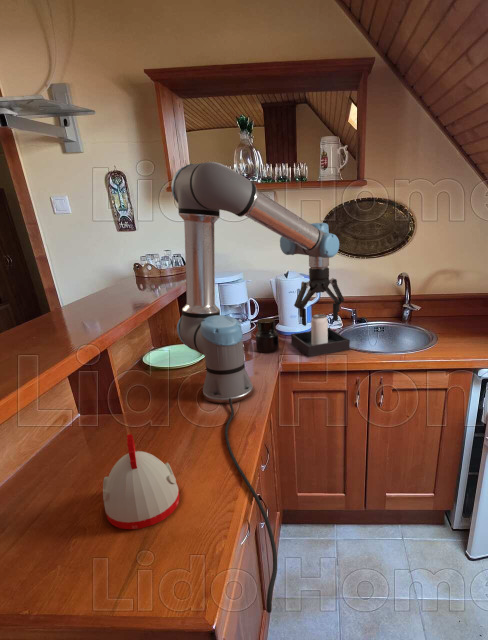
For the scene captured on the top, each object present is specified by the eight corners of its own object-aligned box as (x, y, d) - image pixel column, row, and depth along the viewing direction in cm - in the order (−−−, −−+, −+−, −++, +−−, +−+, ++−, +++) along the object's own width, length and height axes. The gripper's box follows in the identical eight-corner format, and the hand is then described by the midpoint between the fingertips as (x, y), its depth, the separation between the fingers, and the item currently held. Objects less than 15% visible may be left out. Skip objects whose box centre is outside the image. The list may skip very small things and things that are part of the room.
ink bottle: (283, 347, 169) (282, 318, 164) (272, 354, 162) (271, 324, 157) (263, 344, 173) (261, 316, 168) (251, 351, 166) (249, 322, 161)
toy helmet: (175, 476, 92) (164, 416, 86) (184, 516, 81) (172, 450, 74) (107, 493, 88) (90, 430, 81) (105, 538, 76) (86, 469, 70)
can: (315, 341, 173) (314, 313, 168) (329, 343, 170) (329, 314, 165) (309, 346, 167) (308, 317, 162) (324, 348, 165) (324, 318, 160)
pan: (349, 349, 165) (349, 339, 163) (308, 356, 159) (308, 346, 157) (329, 337, 180) (329, 328, 178) (291, 343, 173) (291, 334, 172)
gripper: (343, 262, 164) (343, 315, 173) (284, 269, 155) (286, 324, 164) (353, 265, 157) (352, 320, 166) (291, 272, 149) (294, 329, 158)
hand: (319, 322), depth 165 cm, fingers open, 13 cm apart
